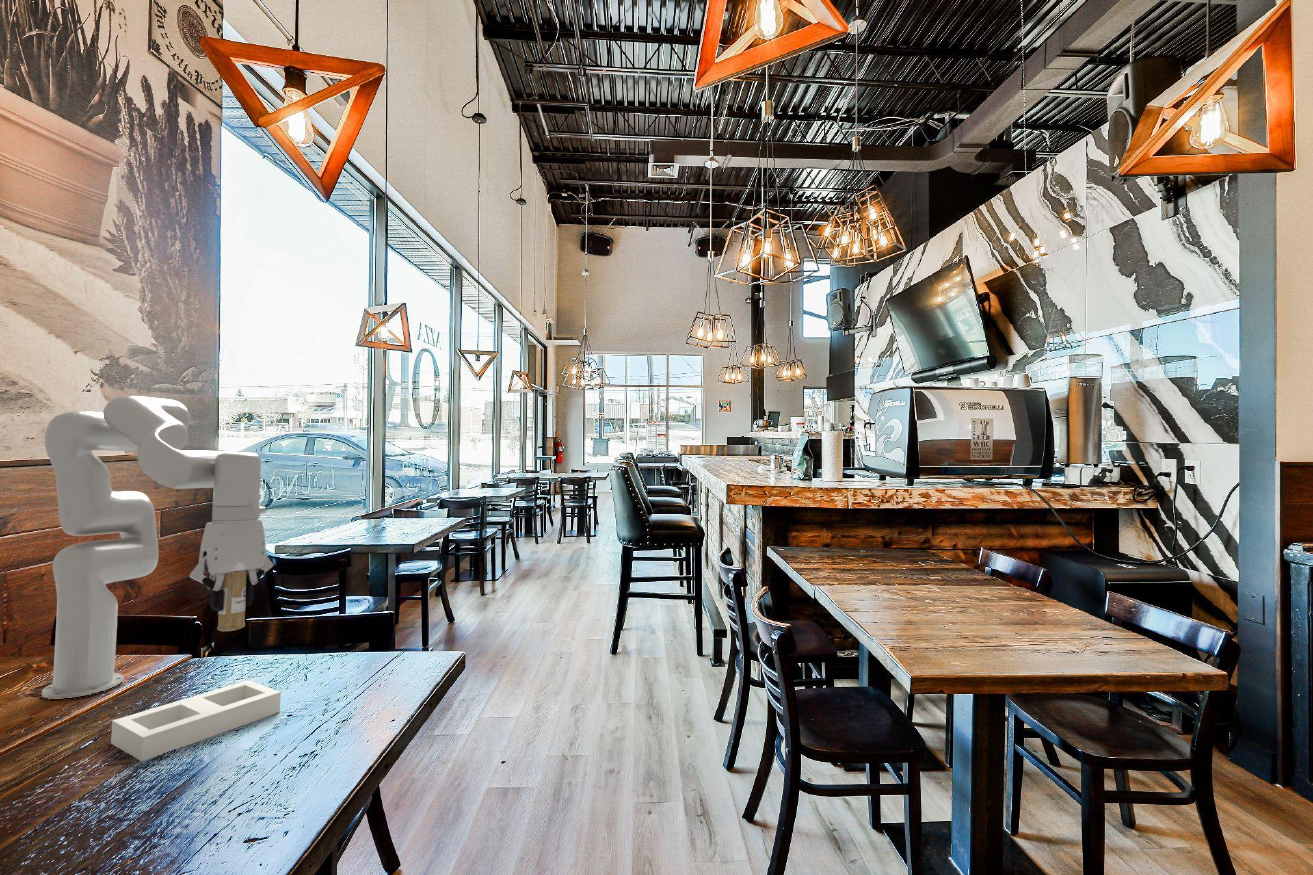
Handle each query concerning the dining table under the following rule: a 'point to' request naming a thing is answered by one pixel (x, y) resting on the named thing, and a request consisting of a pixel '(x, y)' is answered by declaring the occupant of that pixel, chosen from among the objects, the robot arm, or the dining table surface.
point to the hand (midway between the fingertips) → (231, 606)
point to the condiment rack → (193, 719)
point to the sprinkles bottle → (233, 600)
